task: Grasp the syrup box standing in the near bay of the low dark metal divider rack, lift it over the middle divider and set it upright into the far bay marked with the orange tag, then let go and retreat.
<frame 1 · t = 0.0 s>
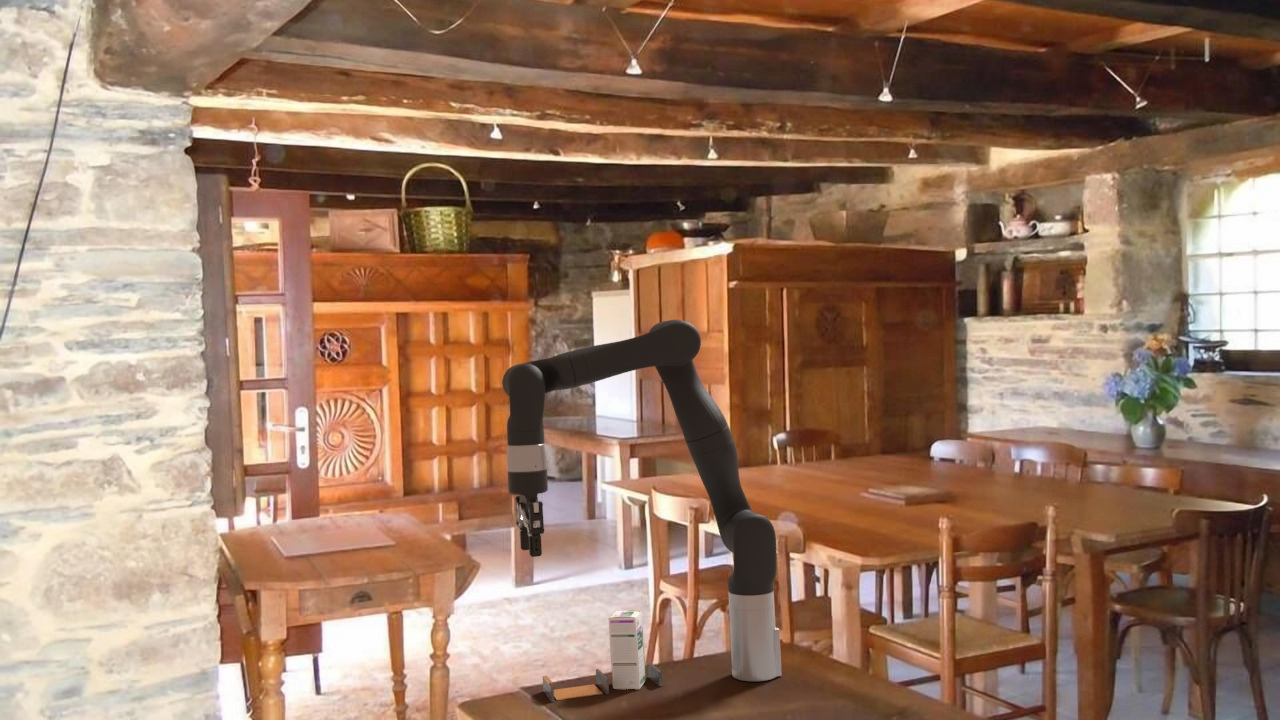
hand: (531, 552, 205), 29 cm above the table, fingers open, 8 cm apart
syrup box: (629, 686, 216), resting on rack
rack: (602, 688, 214), on the table
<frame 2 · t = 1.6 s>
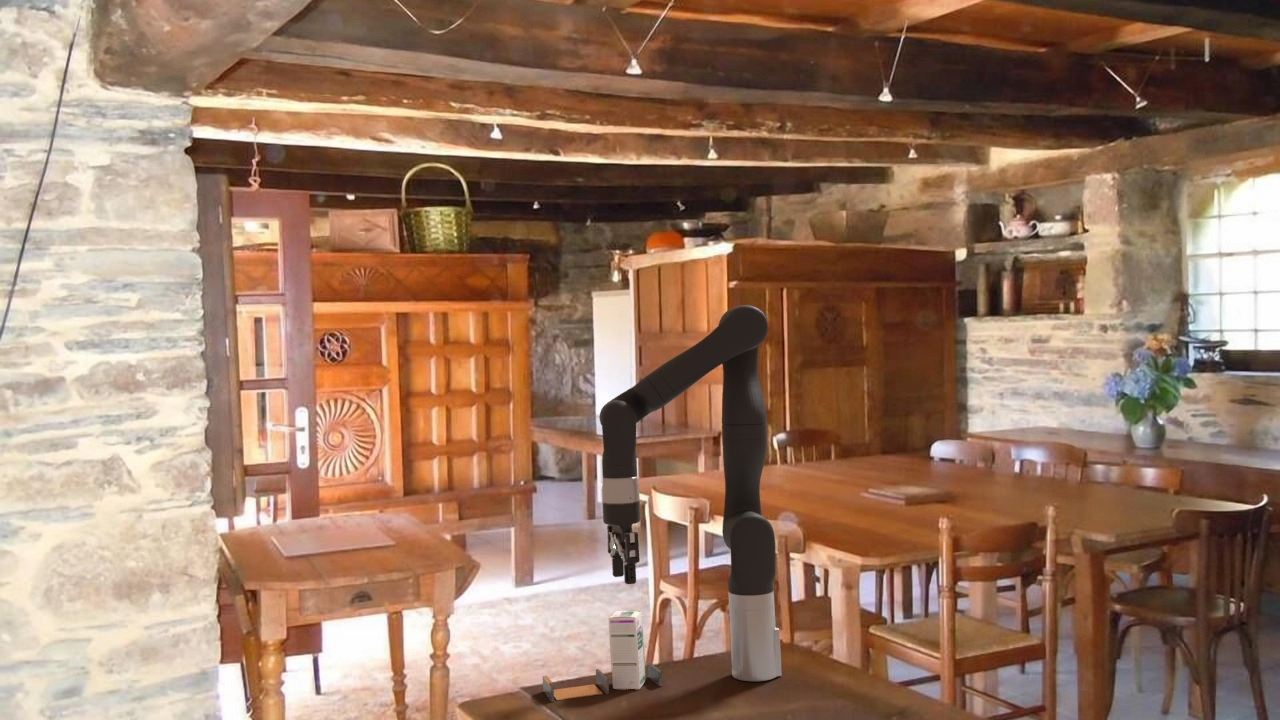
hand: (624, 580, 216), 21 cm above the table, fingers open, 8 cm apart
nothing on the table moved.
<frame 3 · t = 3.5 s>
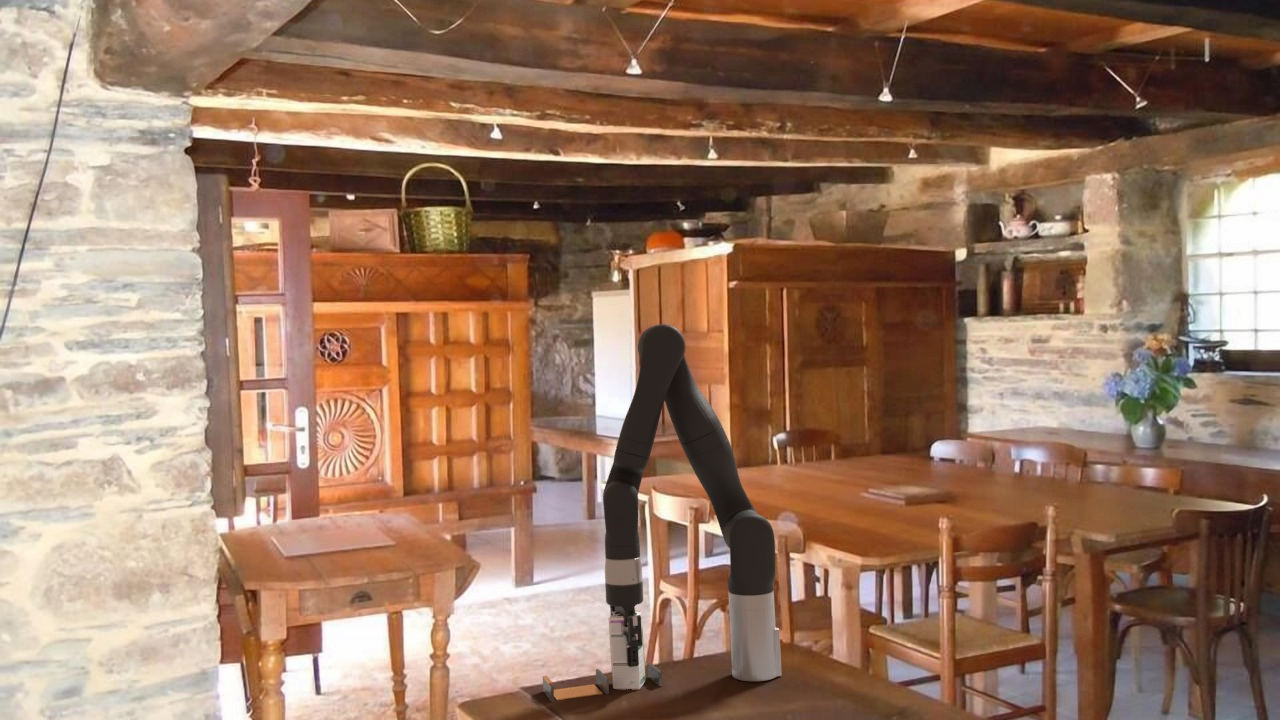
hand: (627, 661, 216), 5 cm above the table, fingers closed on syrup box, 7 cm apart
syrup box: (629, 686, 216), resting on rack, touching gripper
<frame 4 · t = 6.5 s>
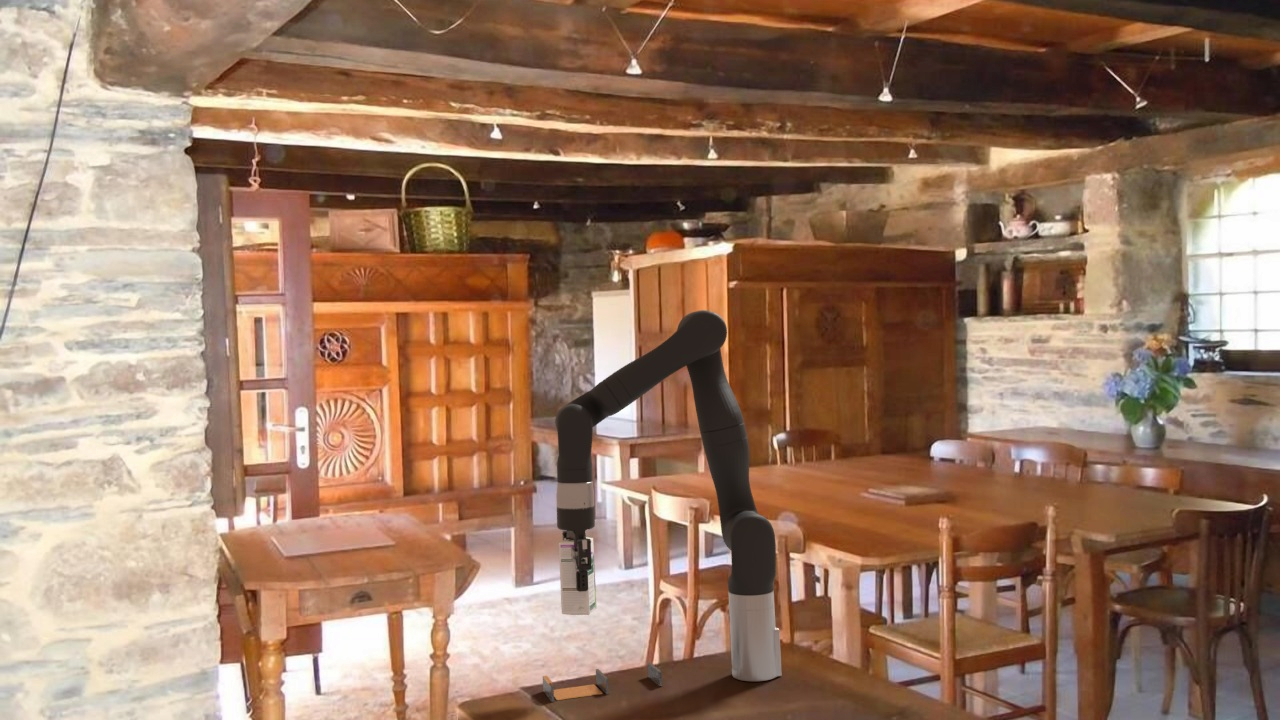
hand: (577, 587, 213), 21 cm above the table, fingers closed on syrup box, 7 cm apart
syrup box: (578, 612, 213), point 16 cm above the table, touching gripper
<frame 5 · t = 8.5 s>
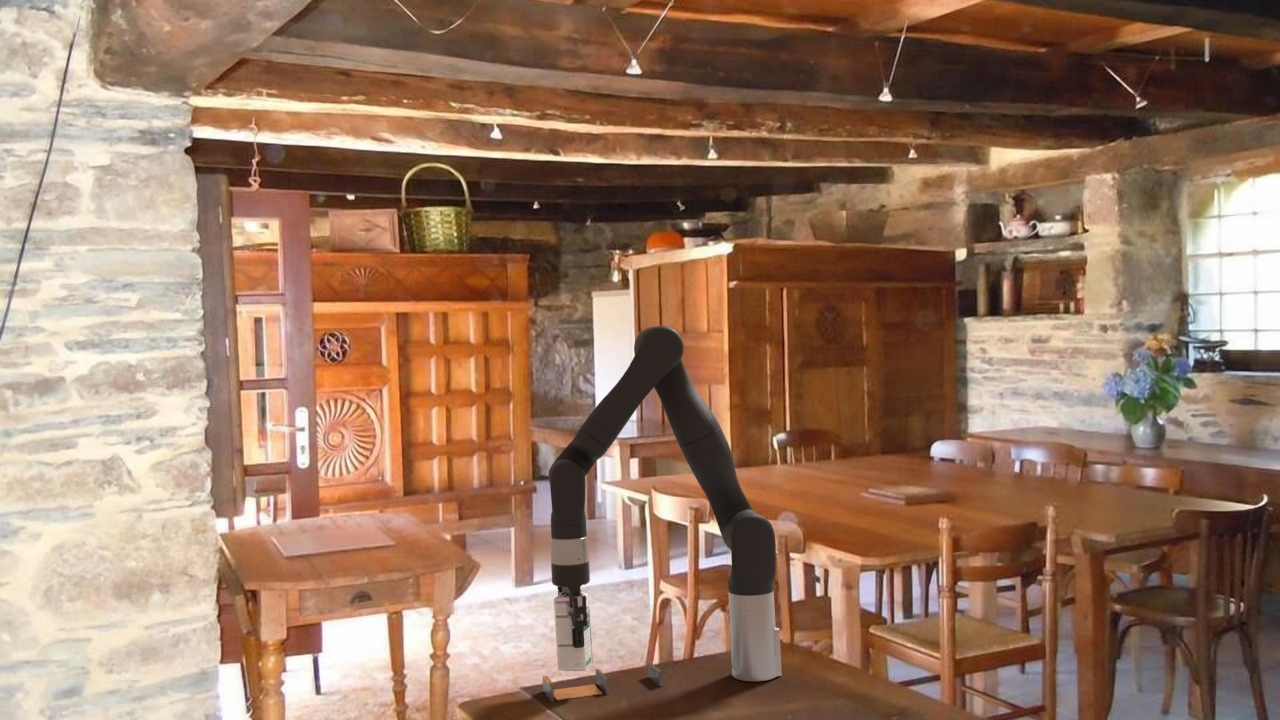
hand: (573, 642, 213), 10 cm above the table, fingers closed on syrup box, 7 cm apart
syrup box: (575, 668, 213), point 5 cm above the table, touching gripper
when the fingers open (6 cm above the table, at t = 9.9 s): syrup box drops 1 cm, resting on rack.
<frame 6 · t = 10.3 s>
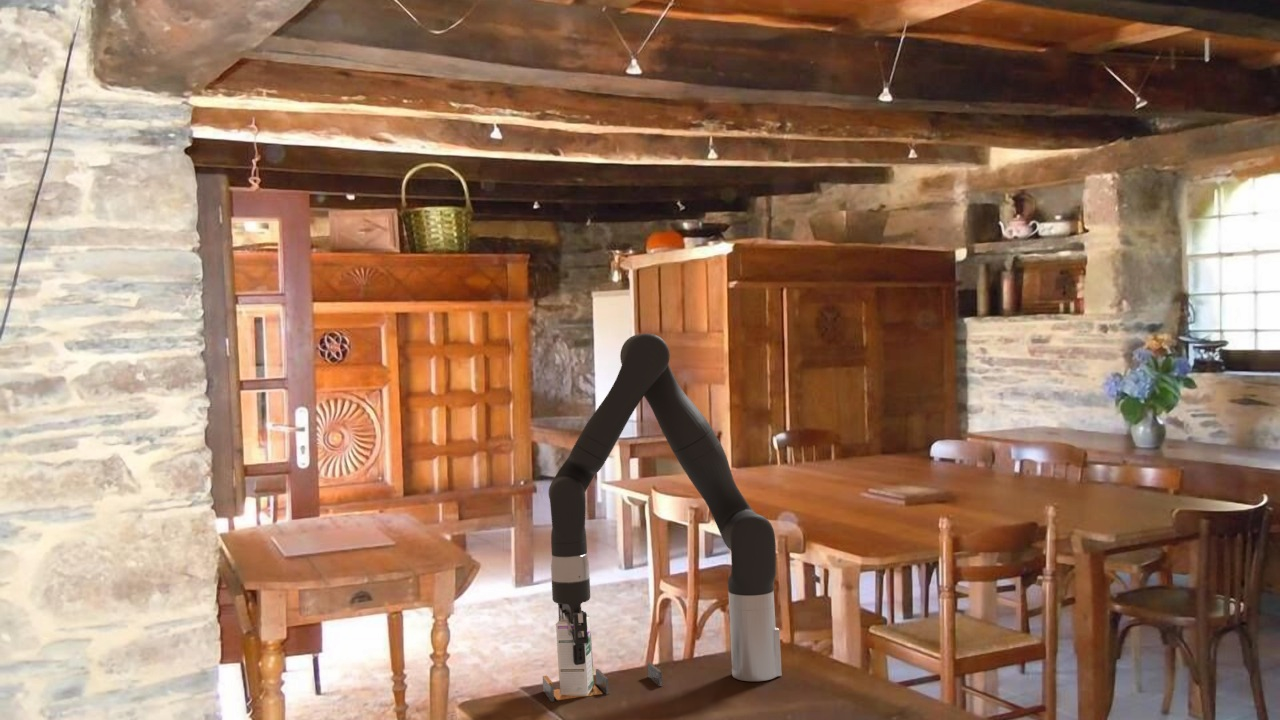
hand: (574, 658, 213), 7 cm above the table, fingers open, 8 cm apart
syrup box: (576, 692, 213), resting on rack
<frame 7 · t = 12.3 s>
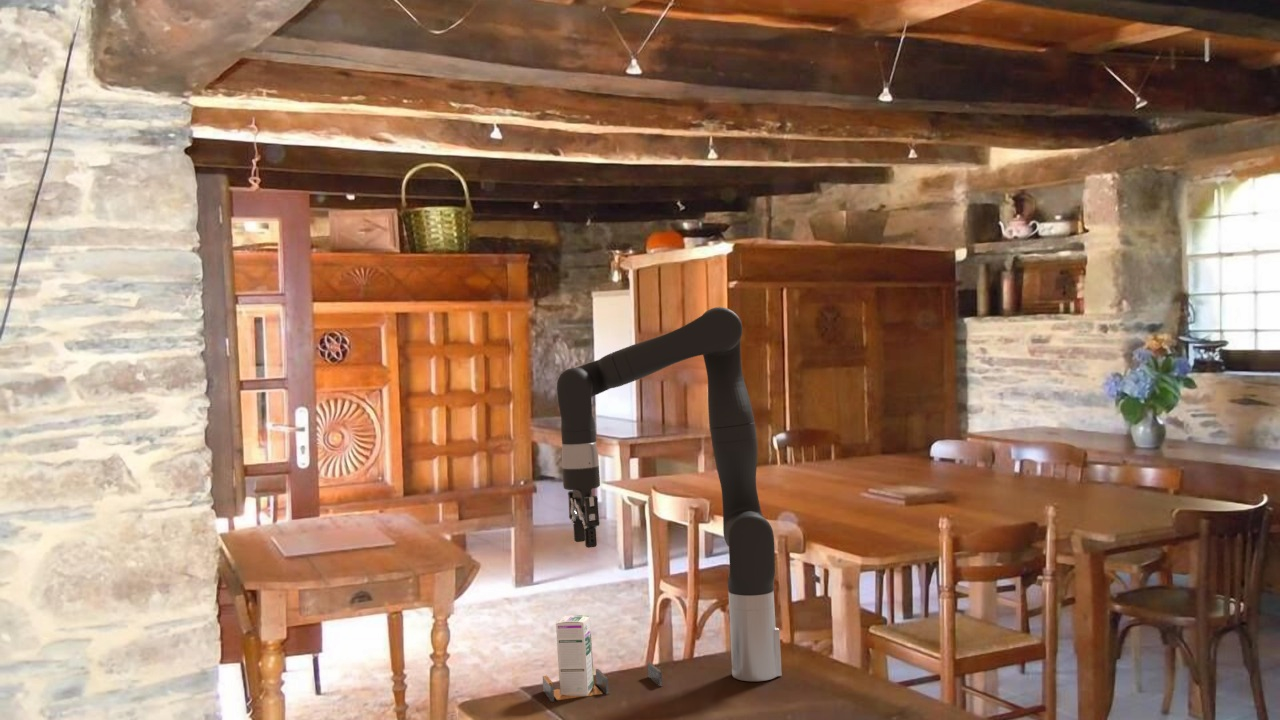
hand: (585, 544, 220), 28 cm above the table, fingers open, 8 cm apart
nothing on the table moved.
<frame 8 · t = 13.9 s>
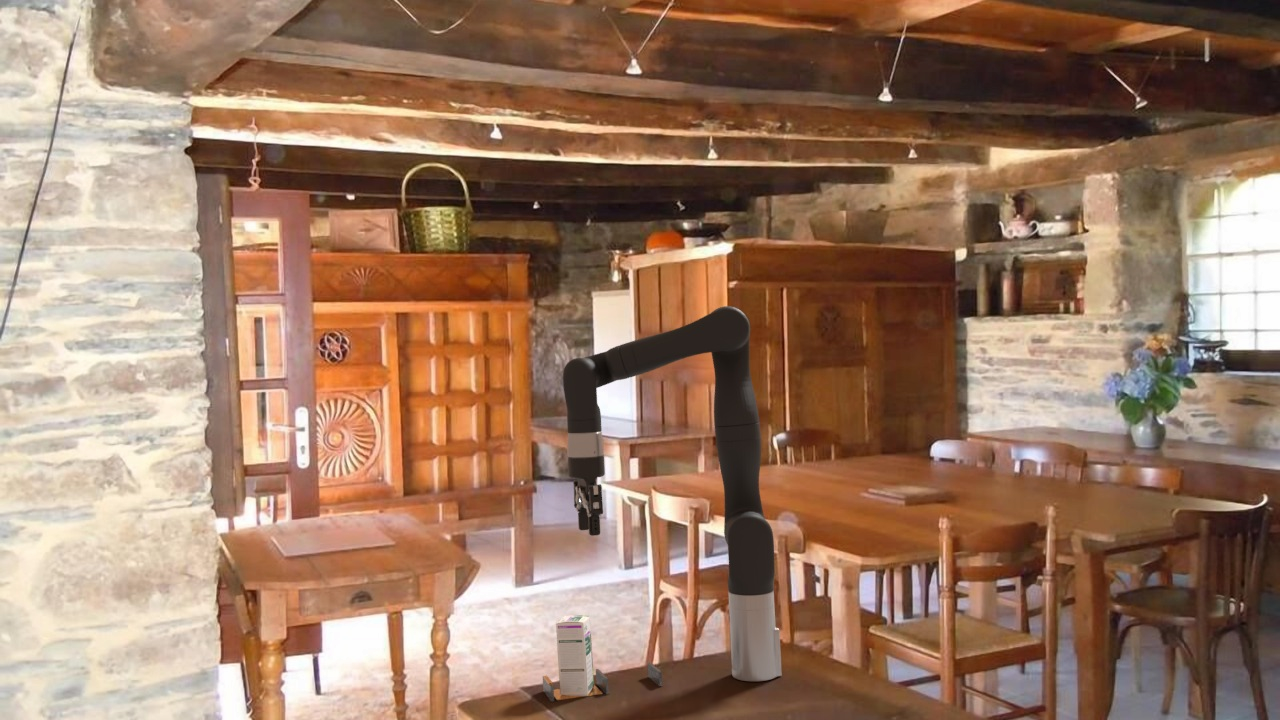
hand: (589, 532, 222), 30 cm above the table, fingers open, 8 cm apart
nothing on the table moved.
at the end: syrup box 0.2 cm from the target spot on the rack, point 0.0 cm above the rack's base; syrup box tilted 0°; the gripper is holding nothing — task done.
